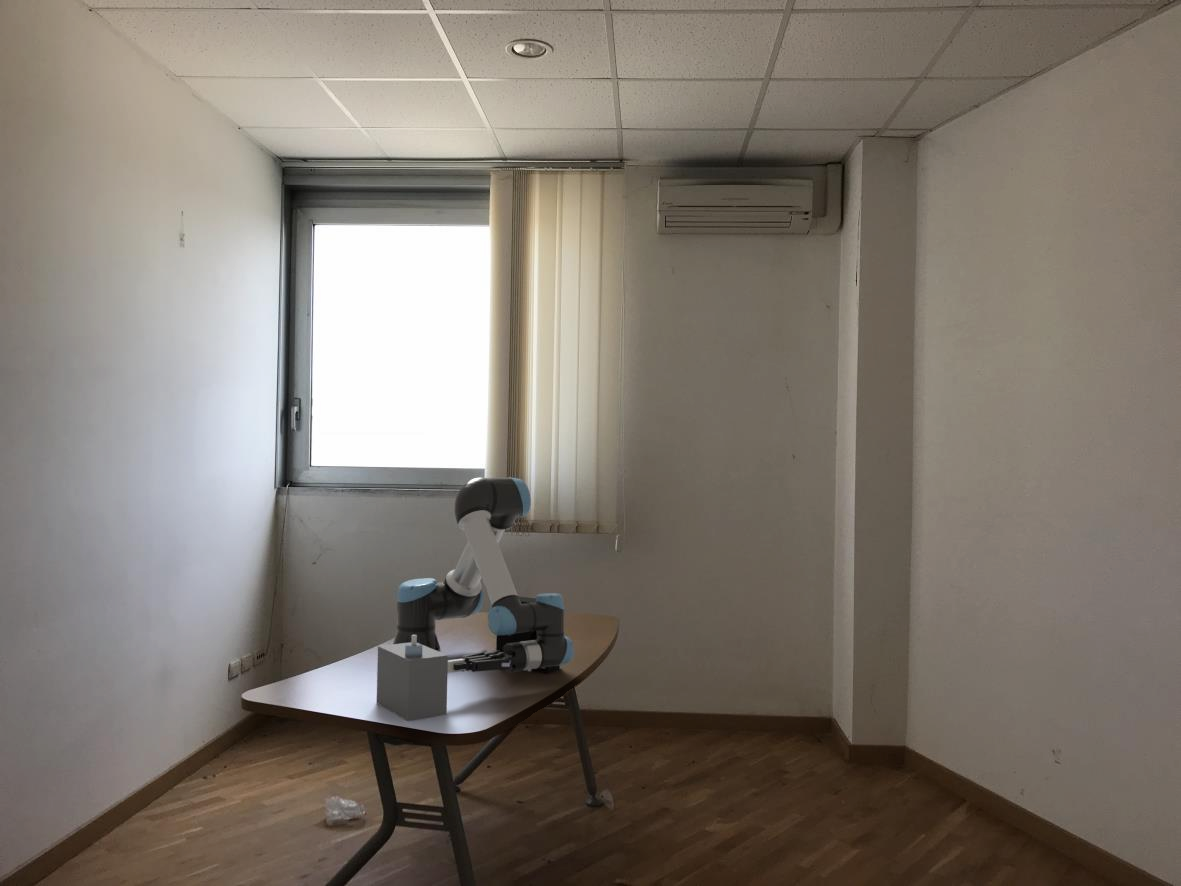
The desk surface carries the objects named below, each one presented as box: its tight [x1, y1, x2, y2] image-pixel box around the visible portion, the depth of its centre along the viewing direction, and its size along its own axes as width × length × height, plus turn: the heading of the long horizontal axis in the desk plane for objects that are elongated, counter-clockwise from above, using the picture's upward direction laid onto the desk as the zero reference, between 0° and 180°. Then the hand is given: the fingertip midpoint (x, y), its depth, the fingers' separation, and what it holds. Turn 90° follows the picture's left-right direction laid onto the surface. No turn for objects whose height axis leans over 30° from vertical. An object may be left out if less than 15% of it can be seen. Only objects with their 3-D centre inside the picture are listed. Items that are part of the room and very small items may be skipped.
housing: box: [376, 642, 449, 722], centre depth 212 cm, size 18×10×14 cm, turn 37°
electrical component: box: [495, 595, 561, 675], centre depth 256 cm, size 18×10×20 cm, turn 59°
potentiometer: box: [405, 635, 422, 657], centre depth 207 cm, size 4×4×5 cm
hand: (440, 667), depth 216 cm, fingers closed
